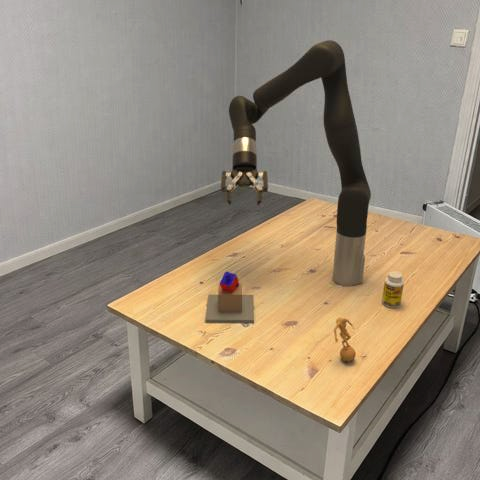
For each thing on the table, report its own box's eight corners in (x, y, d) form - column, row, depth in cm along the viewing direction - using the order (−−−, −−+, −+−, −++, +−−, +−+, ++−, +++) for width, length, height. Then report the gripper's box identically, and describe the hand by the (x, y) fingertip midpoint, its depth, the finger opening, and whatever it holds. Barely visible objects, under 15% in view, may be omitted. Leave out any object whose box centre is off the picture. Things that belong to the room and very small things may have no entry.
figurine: (345, 371, 133) (349, 331, 128) (324, 361, 137) (328, 321, 131) (362, 355, 138) (366, 317, 133) (342, 346, 142) (346, 308, 137)
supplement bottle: (381, 306, 160) (385, 277, 156) (382, 297, 165) (386, 268, 161) (400, 309, 159) (404, 280, 154) (400, 300, 163) (405, 271, 159)
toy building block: (223, 293, 157) (217, 277, 150) (228, 281, 159) (223, 266, 153) (234, 295, 155) (228, 280, 149) (239, 284, 158) (234, 268, 152)
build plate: (253, 297, 165) (253, 277, 162) (254, 322, 152) (254, 302, 149) (208, 297, 165) (207, 277, 162) (205, 322, 152) (204, 301, 149)
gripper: (221, 149, 161) (220, 198, 155) (268, 149, 161) (268, 198, 155) (222, 161, 168) (221, 208, 162) (267, 161, 168) (267, 208, 162)
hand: (244, 203), depth 159 cm, fingers open, 8 cm apart
